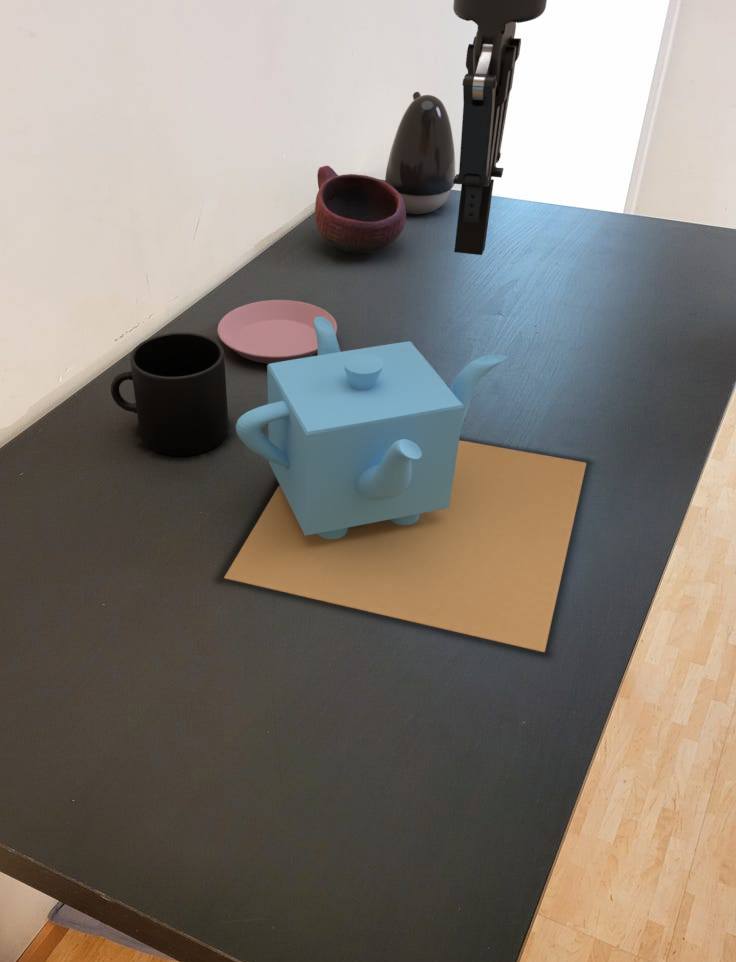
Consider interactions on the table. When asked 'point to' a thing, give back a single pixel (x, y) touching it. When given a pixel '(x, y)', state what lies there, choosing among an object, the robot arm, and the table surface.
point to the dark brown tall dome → (423, 156)
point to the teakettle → (361, 432)
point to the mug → (177, 393)
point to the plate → (273, 330)
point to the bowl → (357, 211)
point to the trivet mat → (439, 551)
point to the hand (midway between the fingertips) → (469, 250)
